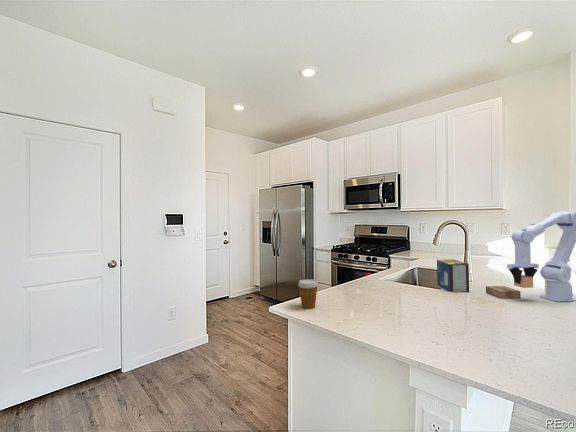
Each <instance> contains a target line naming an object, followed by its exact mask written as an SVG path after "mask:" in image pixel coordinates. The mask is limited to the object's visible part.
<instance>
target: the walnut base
mask: <svg viewBox="0 0 576 432" xmlns="http://www.w3.org/2000/svg"><path fill="white" fill-rule="evenodd" d="M485 294H487V295H490V296H492V297H495V298H497V299H500V300H501V299H502V300H506V299H507V300H509V299H511V300H512V299H521V298H522V297H521V290H518V289H514V288H511V287H508V286H507V285H506V286H505V285H486V286H485Z"/></svg>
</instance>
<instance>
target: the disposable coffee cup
mask: <svg viewBox="0 0 576 432" xmlns="http://www.w3.org/2000/svg"><path fill="white" fill-rule="evenodd" d="M297 286H298V288H299V295H300V301H301V302H300V303H301V307H302V308H303V309H304V310H305V309H306V310H311V309H315V308H316V304H317V303H316V302H317V294H318V286H319V283H318V280H316V279H309V278H307V279H300V280H299V281H298V283H297Z"/></svg>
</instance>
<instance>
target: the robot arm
mask: <svg viewBox="0 0 576 432" xmlns="http://www.w3.org/2000/svg"><path fill="white" fill-rule="evenodd" d="M555 225H556V226H558V227H559V229H561V230H562V235H561V237H560V239H559V242H558V244H557V247H556V249H555V252H554V253H553V256H552V259H551V260H548V261H546V262H545V263H544V265H543V266H542V267H541V269H540V270H539V271H540V276H541V277H542V278H543V280H544V285H545V286H544V290H545V291H544V292H545V294H544V295H540V296H539V297H540V298H544V299H547V300H549V301H553V302H575V301H576V299H573V286H572V284H571V283H570V282H569V281H570V280H571V277H572V274H571V273H572V270H573V269H572V267H570V266H569V265H568V263H569V261H570V257H571V255H572V253H573V250H574V248H575V245H576V210H572V211H571V210H569V211H568V210H566V211H565V210H564V211H562V210H561V211H560V210H558V211H554V212H553V213H551V214H550V215H549V216H548V217H547V218H544V219H543V220H542V221H540V222H531V223H529V225H528V226H526V227H523V228H521V230H515V231H514V232H513V233H512V235H511V236H510V237H511V240H512V242H513V245H514V263H507V264H506V268H507V269H508V270H509V272H510V273H511V275H512V277H513V281H514V280H515V283H518V284H520V282H521V275H523V272H524V275H526V276H530V277H533V278H534V276H535V275H536V274H537V272H538V269H539V268H540V267H539V266H540V265H539V263H531V256H532V255H531V243H533V241H534V240H535V238H536V237H539V236H540V235H541V234H544V232H545V231H546V229H548V228H550V227H552V226H555Z"/></svg>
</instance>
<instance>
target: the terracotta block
mask: <svg viewBox="0 0 576 432" xmlns="http://www.w3.org/2000/svg"><path fill="white" fill-rule="evenodd" d="M513 285H514V286H515V287H518V288H521V289H522V288H523V289H526V288H527V289H528V288H530V289H531V288H532V289H533V288H534V276H533V277H530V276H526V275H525V274H521V282H520V284H518V283H515V280H514V279H513Z"/></svg>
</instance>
